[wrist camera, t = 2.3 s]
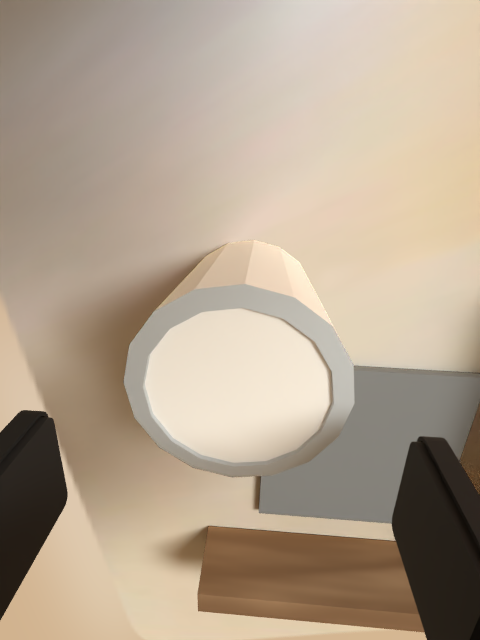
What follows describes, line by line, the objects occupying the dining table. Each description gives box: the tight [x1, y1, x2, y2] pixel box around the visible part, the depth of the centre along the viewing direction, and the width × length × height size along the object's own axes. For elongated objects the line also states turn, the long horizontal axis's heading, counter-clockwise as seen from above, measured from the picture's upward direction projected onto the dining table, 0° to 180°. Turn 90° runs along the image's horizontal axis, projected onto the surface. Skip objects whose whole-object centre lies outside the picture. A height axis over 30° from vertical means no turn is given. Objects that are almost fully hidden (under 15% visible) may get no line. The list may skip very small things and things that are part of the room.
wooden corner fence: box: [198, 526, 424, 632], centre depth 19 cm, size 19×17×4 cm
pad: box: [259, 366, 480, 524], centre depth 21 cm, size 10×10×1 cm
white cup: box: [124, 240, 355, 477], centre depth 15 cm, size 7×7×7 cm
